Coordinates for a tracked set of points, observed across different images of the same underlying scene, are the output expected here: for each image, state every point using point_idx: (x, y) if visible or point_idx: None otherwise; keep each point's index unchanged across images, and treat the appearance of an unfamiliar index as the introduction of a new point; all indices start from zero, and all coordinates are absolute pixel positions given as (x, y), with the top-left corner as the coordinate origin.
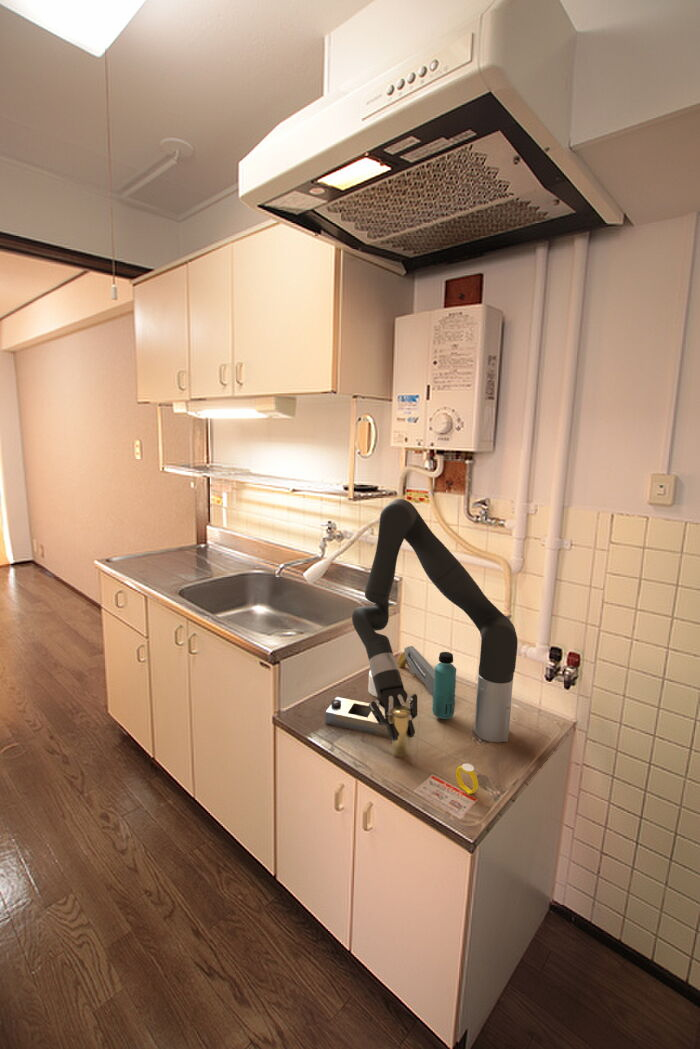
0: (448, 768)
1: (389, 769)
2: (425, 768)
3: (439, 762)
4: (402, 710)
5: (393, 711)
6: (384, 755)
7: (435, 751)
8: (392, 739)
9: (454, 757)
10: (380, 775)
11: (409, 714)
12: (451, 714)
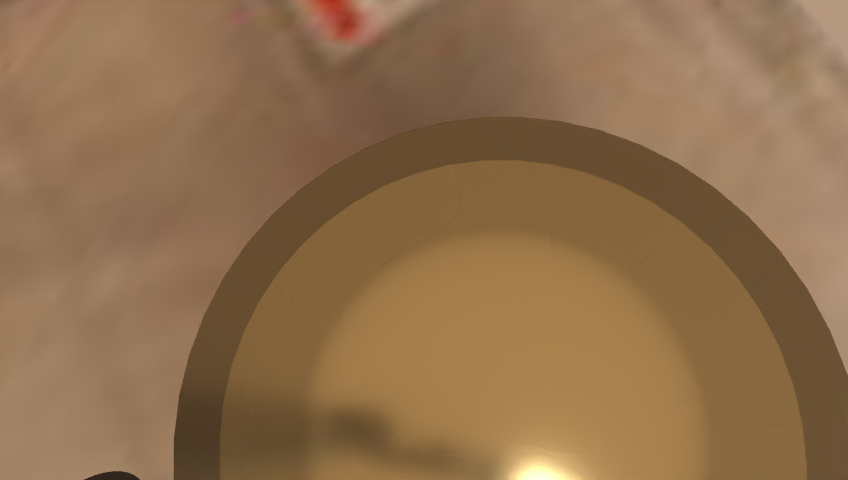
0: (176, 97)
1: None
2: (357, 133)
3: (204, 181)
4: (456, 394)
5: (806, 450)
6: None
7: (154, 336)
8: None
9: (50, 216)
10: (799, 123)
11: (304, 209)
12: None
